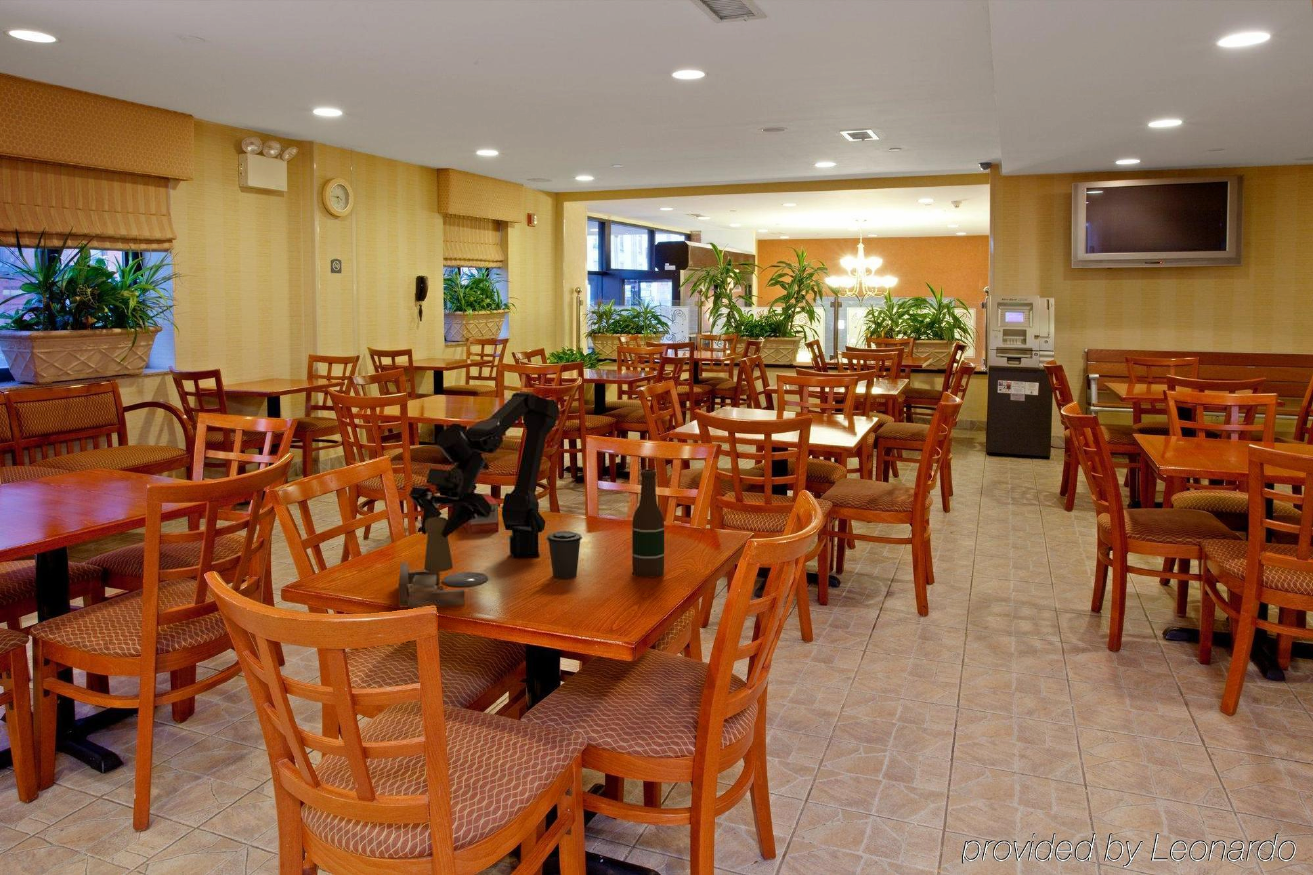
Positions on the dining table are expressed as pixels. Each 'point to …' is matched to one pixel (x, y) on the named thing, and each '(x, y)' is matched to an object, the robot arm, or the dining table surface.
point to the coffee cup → (564, 553)
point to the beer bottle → (648, 531)
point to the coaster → (465, 579)
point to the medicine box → (485, 519)
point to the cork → (437, 546)
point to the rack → (425, 589)
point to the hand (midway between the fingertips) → (433, 534)
